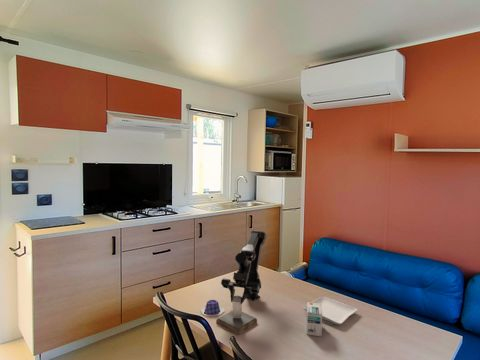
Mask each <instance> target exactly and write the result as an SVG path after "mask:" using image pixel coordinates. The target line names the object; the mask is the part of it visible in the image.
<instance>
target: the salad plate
mask: <svg viewBox="0 0 480 360" xmlns="http://www.w3.org/2000/svg"><path fill="white" fill-rule="evenodd" d="M311 303H318V304H321V310H322V320H324V319H325V320H324V321H327V322H329V323H331V322H332V323H331V324H334V325H337V326H340V325H342V324H343V323H344V322H346V320H347V319H348V318H350V317H351V316H352V315H353V314H355V313H357V312H358V310H359V309H358V308H357V307H355V306H351V305H349V304H346V303H343V302H341V301H339V300H336V299H333V298H329V297H326V296H324V295H322V296H320V297H318V298H316V299H314V300H313V301H311ZM302 309H303V310H304V311H305V312H307V304H306V305H304V306H303V307H302Z"/></svg>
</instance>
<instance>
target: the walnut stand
mask: <svg viewBox="0 0 480 360" xmlns="http://www.w3.org/2000/svg"><path fill="white" fill-rule="evenodd" d="M257 323H258V318H256V317H254V316H253V315H250V314H248V313H247V312H244V311H242V316H241V317H240V318H234V317H233V316H232V310H231V311H229V312H227V313H225V314H224V315H221V316H219V317H218V318H216V319H215V324H217V325H218V326H220V327H222V328H224V329H227V330H228V331H230V332H232V333H233V334H236V335H238V336H239V335H240V334H241V333H244V331H247V330H248V329H249V328H251V327H253V326H254V325H256V324H257Z"/></svg>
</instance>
